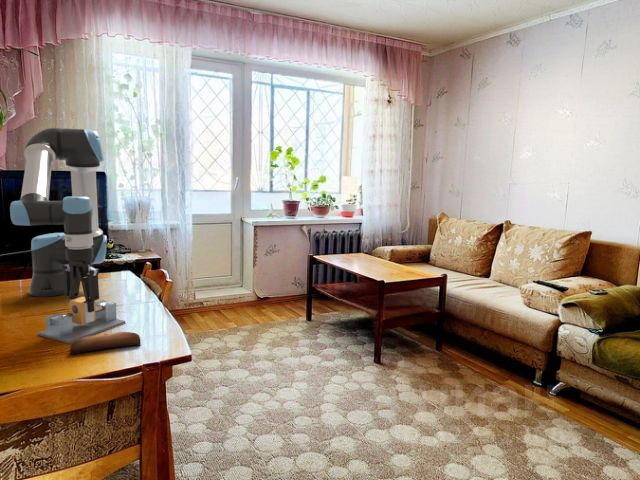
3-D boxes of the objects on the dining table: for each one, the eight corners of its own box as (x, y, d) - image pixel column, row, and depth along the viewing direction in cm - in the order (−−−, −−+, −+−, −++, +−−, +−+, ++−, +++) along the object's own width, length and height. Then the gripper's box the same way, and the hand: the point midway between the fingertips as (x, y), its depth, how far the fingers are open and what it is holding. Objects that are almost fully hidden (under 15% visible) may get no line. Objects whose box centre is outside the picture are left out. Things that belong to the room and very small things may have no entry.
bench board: (38, 334, 136) (37, 332, 136) (95, 316, 154) (95, 314, 154) (69, 343, 131) (69, 341, 130) (125, 323, 149) (125, 320, 148)
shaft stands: (46, 334, 135) (45, 316, 134) (103, 316, 153) (103, 299, 152) (60, 338, 132) (58, 319, 131) (116, 318, 150) (115, 302, 149)
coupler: (70, 322, 141) (69, 300, 140) (84, 317, 145) (83, 296, 144) (81, 324, 139) (80, 302, 138) (95, 320, 143) (94, 298, 142)
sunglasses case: (138, 335, 138) (138, 321, 134) (140, 354, 133) (141, 340, 129) (71, 344, 130) (69, 329, 126) (71, 364, 125) (69, 349, 121)
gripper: (48, 246, 139) (52, 318, 142) (89, 251, 131) (92, 328, 135) (70, 242, 146) (74, 312, 149) (110, 248, 138) (113, 321, 142)
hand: (83, 320), depth 142 cm, fingers closed on coupler, 5 cm apart
